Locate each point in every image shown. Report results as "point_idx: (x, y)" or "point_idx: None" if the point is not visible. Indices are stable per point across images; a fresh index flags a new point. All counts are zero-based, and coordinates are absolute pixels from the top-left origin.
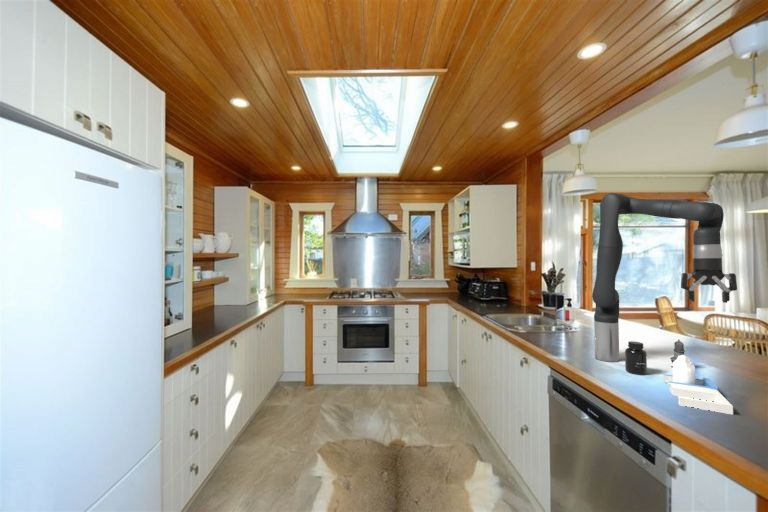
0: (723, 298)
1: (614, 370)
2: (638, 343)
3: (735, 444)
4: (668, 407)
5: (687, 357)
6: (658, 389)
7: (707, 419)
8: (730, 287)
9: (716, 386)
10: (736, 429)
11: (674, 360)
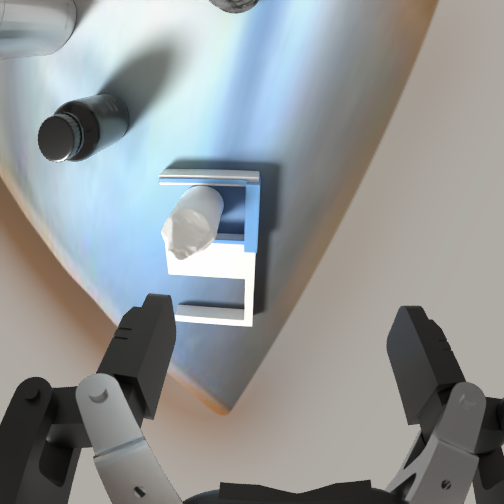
0: (402, 353)
1: None
2: (62, 148)
3: (223, 388)
4: None
5: (190, 255)
6: (149, 239)
7: (209, 343)
8: (476, 448)
9: (255, 249)
10: (237, 358)
11: (213, 4)
